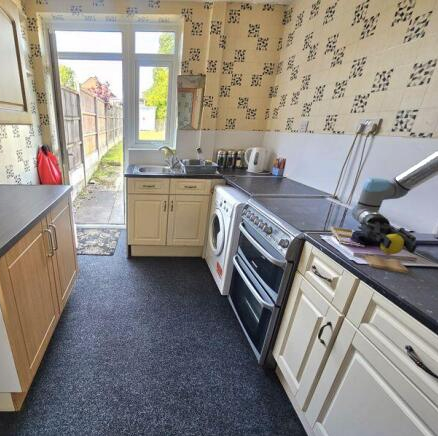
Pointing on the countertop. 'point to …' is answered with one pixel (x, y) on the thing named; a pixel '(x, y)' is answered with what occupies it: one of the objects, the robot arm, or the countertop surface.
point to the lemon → (394, 244)
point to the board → (386, 264)
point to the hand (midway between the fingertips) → (401, 246)
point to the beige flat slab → (343, 234)
